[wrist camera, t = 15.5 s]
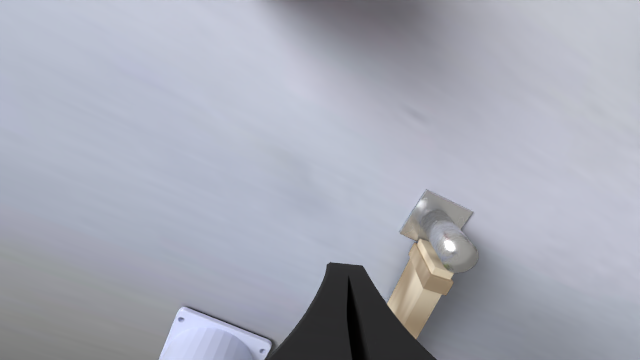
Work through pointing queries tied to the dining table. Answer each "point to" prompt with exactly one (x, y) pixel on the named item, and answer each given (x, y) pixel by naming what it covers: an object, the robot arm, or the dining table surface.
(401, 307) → the wooden capped beam
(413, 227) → the chrome post on plate
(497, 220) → the dining table surface
